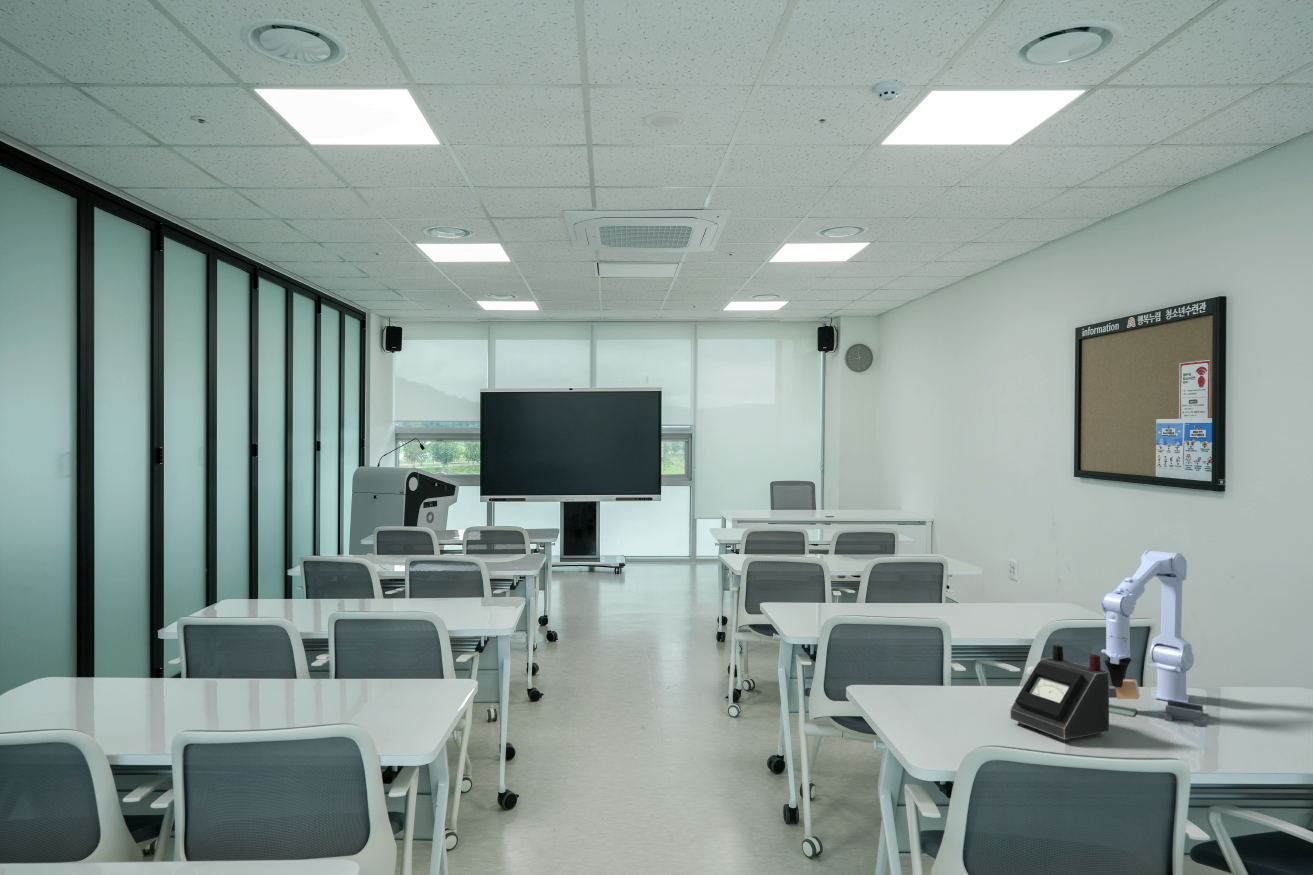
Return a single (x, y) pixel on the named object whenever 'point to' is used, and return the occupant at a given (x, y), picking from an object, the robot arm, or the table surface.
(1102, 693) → the voltmeter
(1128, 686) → the plug
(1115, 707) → the mat
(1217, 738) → the table surface
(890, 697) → the table surface
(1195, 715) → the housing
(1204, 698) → the table surface
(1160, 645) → the robot arm
